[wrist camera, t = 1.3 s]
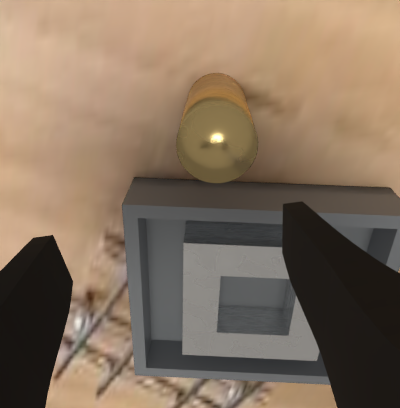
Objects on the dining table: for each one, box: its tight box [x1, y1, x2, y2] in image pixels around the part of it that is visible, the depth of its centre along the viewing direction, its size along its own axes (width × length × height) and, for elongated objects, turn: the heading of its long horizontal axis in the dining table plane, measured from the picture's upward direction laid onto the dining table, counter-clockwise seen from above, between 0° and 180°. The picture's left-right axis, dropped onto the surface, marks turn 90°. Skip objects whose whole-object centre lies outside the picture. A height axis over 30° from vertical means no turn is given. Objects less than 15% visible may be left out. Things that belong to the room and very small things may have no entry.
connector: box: [176, 73, 258, 183], centre depth 18 cm, size 3×3×7 cm
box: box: [122, 178, 400, 385], centre depth 25 cm, size 16×14×4 cm
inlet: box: [182, 220, 319, 361], centre depth 25 cm, size 9×9×2 cm
